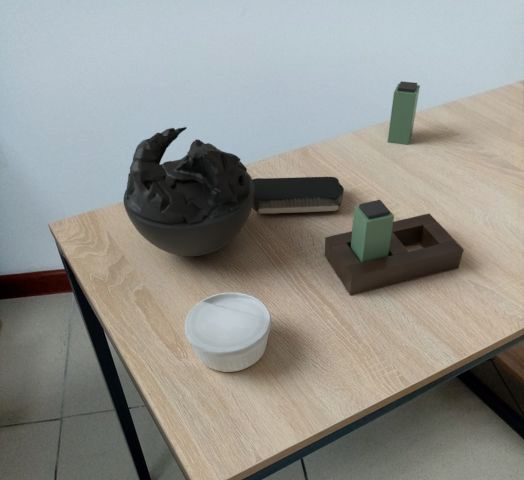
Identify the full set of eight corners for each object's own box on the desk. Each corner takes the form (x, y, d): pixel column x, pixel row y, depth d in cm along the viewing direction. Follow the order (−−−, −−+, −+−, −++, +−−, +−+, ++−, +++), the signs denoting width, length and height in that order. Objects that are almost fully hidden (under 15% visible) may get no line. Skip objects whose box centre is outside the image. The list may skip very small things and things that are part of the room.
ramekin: (265, 313, 76) (263, 285, 72) (279, 372, 69) (278, 344, 65) (187, 325, 75) (181, 297, 71) (193, 385, 68) (187, 358, 64)
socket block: (458, 268, 81) (464, 249, 78) (349, 295, 78) (351, 277, 75) (425, 231, 87) (429, 213, 85) (324, 255, 84) (325, 237, 82)
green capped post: (411, 135, 110) (420, 82, 102) (408, 144, 107) (416, 90, 99) (391, 133, 111) (398, 79, 103) (387, 142, 108) (394, 88, 101)
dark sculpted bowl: (128, 226, 93) (97, 119, 79) (236, 200, 97) (225, 93, 83) (151, 296, 80) (120, 184, 66) (275, 263, 84) (270, 150, 70)
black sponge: (249, 219, 92) (247, 200, 89) (250, 193, 98) (249, 174, 95) (343, 216, 91) (345, 197, 89) (339, 190, 97) (340, 171, 94)
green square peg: (373, 256, 84) (381, 196, 76) (385, 272, 81) (395, 212, 73) (349, 262, 83) (354, 202, 75) (360, 278, 80) (367, 218, 72)
